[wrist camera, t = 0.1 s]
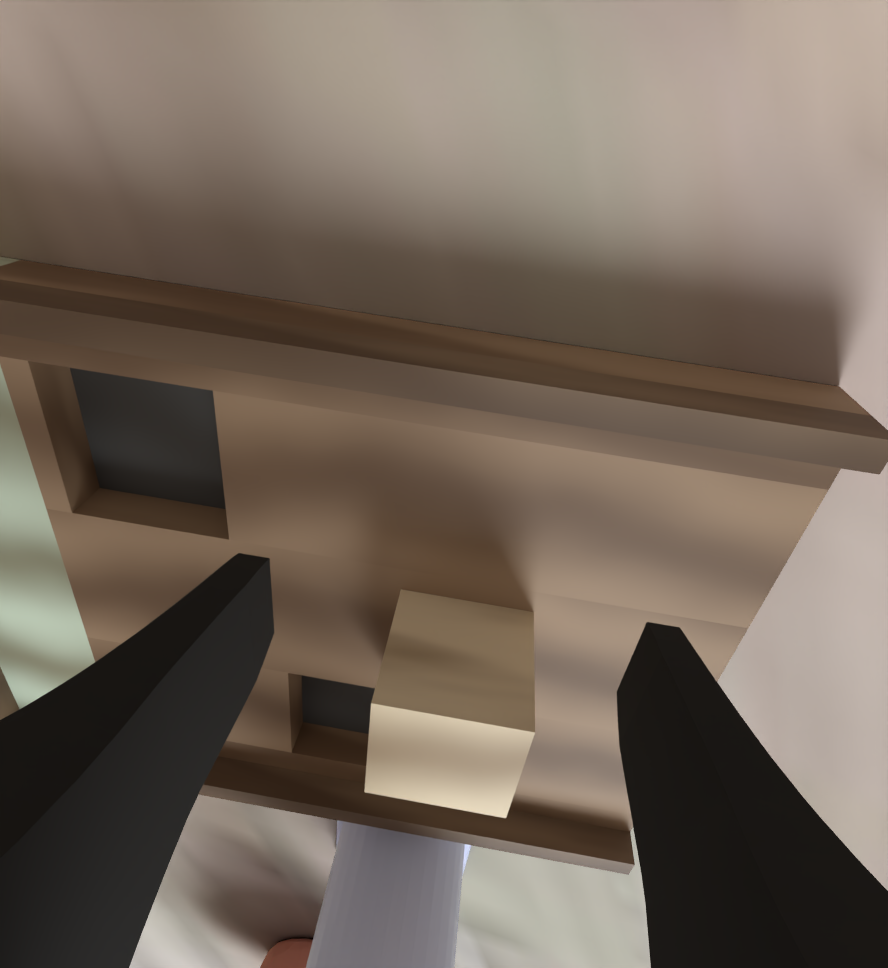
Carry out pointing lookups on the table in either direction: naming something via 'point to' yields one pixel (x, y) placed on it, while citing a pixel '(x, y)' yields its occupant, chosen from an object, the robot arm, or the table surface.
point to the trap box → (389, 518)
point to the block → (453, 704)
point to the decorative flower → (288, 954)
